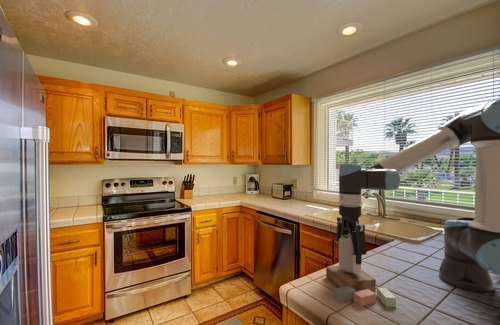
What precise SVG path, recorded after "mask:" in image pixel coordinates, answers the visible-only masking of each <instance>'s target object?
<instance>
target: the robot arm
mask: <svg viewBox="0 0 500 325" xmlns="http://www.w3.org/2000/svg"><path fill="white" fill-rule="evenodd" d="M467 143H470V145H472V146H473V147H474V148H476V154H475V155H476V156H475V158H476V159H475V160H476V161H475V162H476V163H475V190H474V191H475V192H474V194H475V195H474V219H473V220H466V219H465V220H464V219H447V220H445V221H444V226H443V230H444V231H443V232H444V233H443V234H444V237H443V238H444V239H443V242H444V244H443V245H444V248H443V249H444V254H443V255H444V256H443V259H442V261H441V264H440V266H439V269H438V277H439V279H441V280H442V281H444V282H445V283H447V284H449V285H452V286H454V287H456V288H460V289H464V290H468V291H471V292H476V293H477V292H478V293H490V292H493V291H494V280H492V277H491V274H490V272H491V273H494V274H496V275H500V98H499V99H493V100H490V101H488V102H485V103H484V104H481V105H476V106H475V107H472V108H471V107H470V108H469V109H467V110H464V111H463V112H461V113H460V114H458V115H457V116H455V117H453V118H452V119H450V120H449V121H447V122H445V123H443V124H442V125H440V126H438V128H437V130H436V131H435V132H433V133H431V134H429V135H427V136H426V137H423V138H422V139H421V140H418V141H416V142H414V143H413V144H411V145H409V146H407V147H405V148H403V149H401V150H399V151H398V152H396V153H394V154H392V155H390V156H389V157H387V158H385V159H384V160H381V161H379V162H377V163H375V164H374V165H372V166H370V167H366V168H362V165H361V163H341V164H339V174H338V190H339V191H338V196H339V197H338V198H339V199H338V200H339V202H338V204H339V205H338V215H339V216H340V217H336V225H337V226H336V234H335V235H336V236H335V241H336V243H338V244H339V239H340V238H341V235H351V239H352V244H353V249H354V253H353V273H361V270H362V262H363V260H362V256H364V255H367V246H366V235H365V231H366V226H365V225H364V224H360V221H359V218H361V217H362V207H361V206H362V190H371V191H372V190H375V191H387V192H388V191H396V190H398V189H399V187H400V185H401V178H400V177H401V176H400V174H401V173H403V172H405V171H408V170H409V169H411V168H413V167H416V166H417V165H419V164H421V163H423V162H424V161H427V160H428V159H431V158H432V157H435V156H436V155H438V154H440V153H442V152H444V151H446V150H448V149H450V148H458V147H460V146H462V145H465V144H467ZM345 238H348V237H345ZM357 250H358V251H357Z"/></svg>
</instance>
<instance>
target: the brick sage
mask: <svg viewBox="0 0 500 325" xmlns="http://www.w3.org/2000/svg"><path fill="white" fill-rule="evenodd" d="M376 297H377V298H378V299H379V300H380V301H381V303H382V304H383V305H384V307H387V308H388V307H389V308H396V307H397V297H395V295H394V294H393V293H392V292H391V291H390V290H389V289H388V288H387V287H381V286H380V287H378V286H376Z"/></svg>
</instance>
